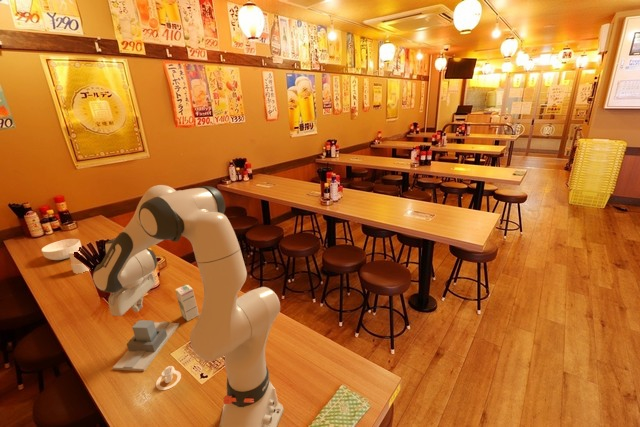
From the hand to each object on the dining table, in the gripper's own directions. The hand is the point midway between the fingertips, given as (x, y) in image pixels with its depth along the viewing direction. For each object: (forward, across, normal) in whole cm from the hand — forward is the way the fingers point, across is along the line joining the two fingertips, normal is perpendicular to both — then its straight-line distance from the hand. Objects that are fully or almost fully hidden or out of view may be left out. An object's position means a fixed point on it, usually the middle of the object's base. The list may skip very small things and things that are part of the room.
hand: (138, 309), depth 114 cm
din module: (+16, 0, 0) cm, 16 cm away
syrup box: (+17, +18, -8) cm, 26 cm away
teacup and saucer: (+18, -13, -19) cm, 29 cm away
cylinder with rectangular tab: (+18, +56, +79) cm, 98 cm away
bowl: (+18, +73, +107) cm, 131 cm away
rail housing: (+17, 0, 0) cm, 17 cm away
